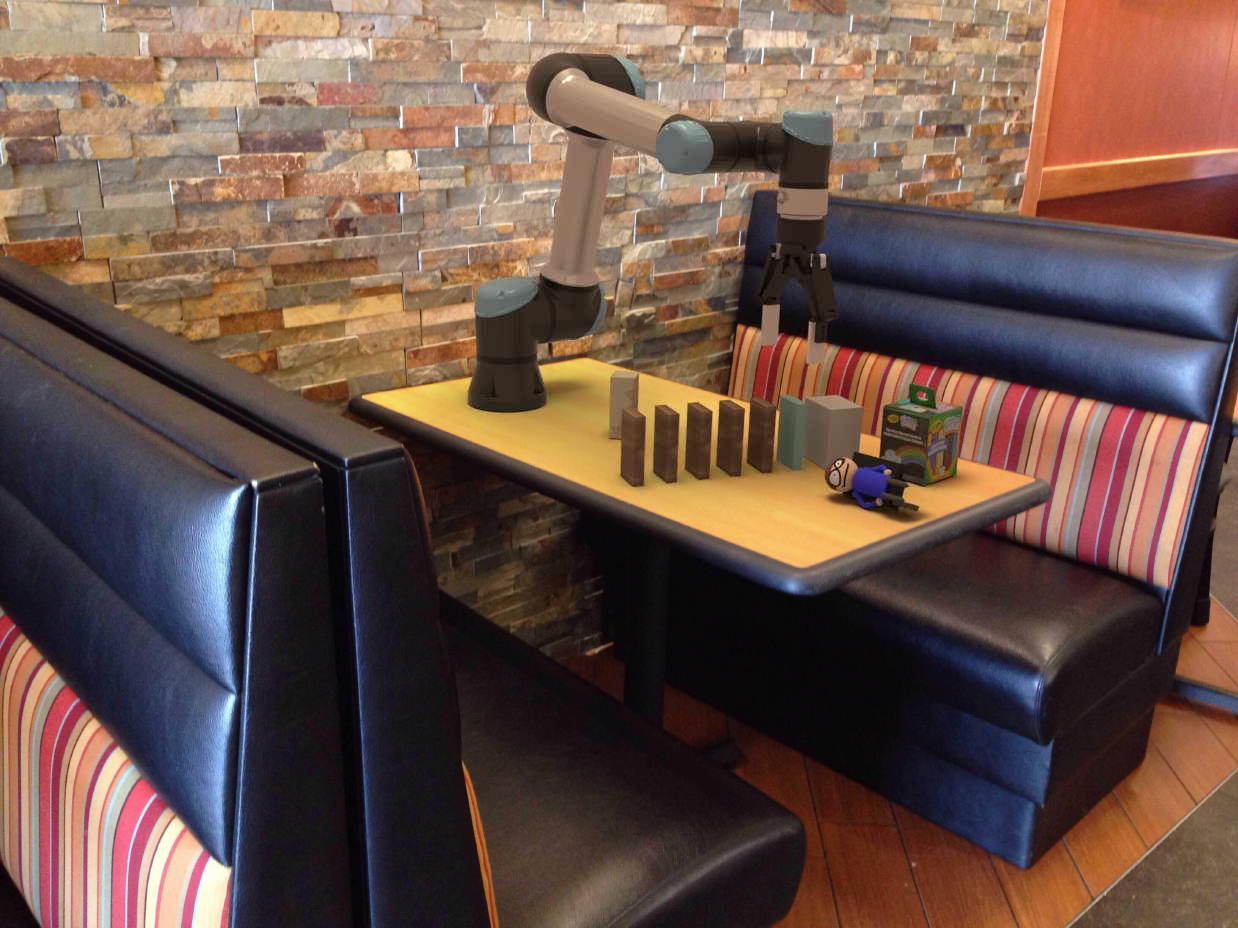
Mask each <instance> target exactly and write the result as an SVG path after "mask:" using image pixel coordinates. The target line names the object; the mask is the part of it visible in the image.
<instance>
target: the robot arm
mask: <svg viewBox="0 0 1238 928" xmlns="http://www.w3.org/2000/svg"><path fill="white" fill-rule="evenodd" d="M646 91H647V90H646V84H645V81H644V78H643V77H642V76H641V71H640V70H639V68H638V67H637V65H636V64H635V63H634V62H633V61H631V60H630V59H628V58H626V57H625V56H621V55H613V54H608V53H582V52H581V53H580V52H579V53H577V52H576V53H575V52H572V53H571V52H566V51H564V52H562V51H560V52H555V53H550V54H548V55H546V56H543V57H542V58H541V59H538V61H536V63H535V64H534V65H533V66H532V68H531V69H530V71H529V73H528V75H527V78H526V82H525V96H526V99H527V102H528V104H529V105H528V106H530V108H531V110H532V111H533V112H534V114H535V115H536V116H537V117H538V118H540V119H542V120H544V121H546V122H547V123H551V124H553V125H555V126H558V127H561V129H562V130H563V131H564V132H565V134H566V135H567V137H568V138H567V139H568V141H567V146H566V154H565V158H564V159H565V161H564V164H563V165H564V166H563V173H562V179H561V185H560V191H559V197H558V198H559V199H558V206H557V210H556V211H557V212H556V218H555V223H554V230H553V237H552V244H551V250H550V254H549V261H547V262H546V263H544V264H543V265H542V266H541V267H540V270H539V274H538V281H536V279H534V278H533V277H528V276H512V277H508V276H507V277H505V276H504V277H500V278H495V279H492V280H489V281H486V282H484V283H482V284H481V285H479V287H478V288H477V290H476V292H475V299H474V300H475V301H474V308H473V309H474V310H473V311H474V314H475V315H474V316H475V319H474V320H475V351H476V352H475V353H476V355H475V356H476V357H475V358H476V360H475V367H474V370H473V373H472V376H471V380H470V383H469V386H468V389H467V403H468V404H469V405H470V406H472V407H474V408H476V409H480V410H484V411H491V412H522V411H530V410H534V409H538V408H541V407H543V406H545V405H546V403H547V388H546V385H545V381H544V379H543V375H542V373H541V370H540V367H539V364H538V345H542V344H550V343H555V342H562V341H563V342H564V341H569V340H570V341H575V340H579V339H581V338H585V337H589V336H591V335H593V334H595V333H596V332H597V331H598V330H599V329H600V328H601V326H602V324H603V322H604V320H605V317H606V315H607V306H608V303H607V301H608V300H607V298H606V297H605V295H606V291H605V289H604V286H603V285H601V283H600V276H599V275H598V274H597V272H596V271H595V269H594V266H595V262H596V261H595V260H596V256H597V251H598V244H599V238H600V235H601V234H600V231H601V229H602V228H601V227H602V221H603V216H604V211H605V204H606V200H607V199H606V198H607V193H608V189H609V188H608V187H609V183H610V176H611V171H612V165H613V159H614V154H615V148H616V146H617V145H620V146H624V147H626V148H629V149H631V150H634V151H637V152H639V153H641V154H644V155H647V156H648V157H652V158H654V159H657V161H658V163H659V164H660V165H661V166H662V169H663V170H665V172H668V173H669V174H672V175H682V176H689V177H690V176H695V175H707V174H708V175H710V174H727V173H728V174H732V173H734V174H735V173H738V174H739V173H763V174H765V173H767V174H777V175H778V185H777V186H778V190H777V191H778V193H777V196H776V198H777V207H776V212H777V214H779V215H780V216H777V218H775V229H774V230H775V231H774V239H775V241H776V242H777V243H769V244H768V251H767V256H766V260H765V263H764V266H763V269H762V271H761V274H760V278H759V281H758V284H757V287H756V289H755V294H754V297H755V298H756V299H760V304H761V305H762V310H761V311H762V312H761V330H760V331H761V332H760V333H761V334H760V345H761V346H765V347H766V346H775V345H778V339H779V338H778V337H779V325H780V324H779V323H780V310H781V309H780V307H781V305H780V303H781V301H780V297H781V296H782V294H783V292H784V291H785V290H786V287H787V286H788V284H789V282H790V281H791V279H794V280H796V282H797V283H799V284H800V285H801V287H802V291H803V294H804V296H805V299H806V302H807V306H808V309H809V311H810V314H811V318H809V320H808V331H807V332H808V334H807V345H806V356H805V357H806V358H805V363H806V364H808V365H814V364H815V365H816V364H825V363H824V362H825V353H826V352H825V351H826V342H827V338H828V337H827V336H828V327H829V325H828V324H829V322H830V321H833V320H837V319H838V318H839V311H838V306H837V305H838V304H837V300H836V294H835V289H834V283H833V282H834V281H833V278H832V273H831V272H832V271H831V254H830V253H818V246H819V245H821V244H822V245H823V243H824V242H825V237H826V226H827V221H826V219H825V218H824V217H823V216H826V215H827V214H828V205H829V204H828V203H829V189H830V188H829V184H830V183H829V179H830V178H829V177H830V171H831V170H830V168H831V161H832V154H833V153H832V152H833V145H834V117H833V114H832V113H831V112H830V111H829V110H823V109H822V110H820V109H786V110H785V111H784V112H783V114H782V115H783V116H782V121H781V122H771V121H770V122H768V121H767V122H766V121H756V120H755V121H754V120H735V121H722V120H721V121H708V120H706V121H705V120H700V119H698V118H695V117H692V116H689V115H686V114H684V113H682V112H679V111H675V110H673V109H670V108H667V107H665V106H663V105H659V104H657V103H654V102H652V101H648V100H646V98H647V97H646Z"/></svg>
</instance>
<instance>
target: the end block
mask: <svg viewBox="0 0 1238 928" xmlns="http://www.w3.org/2000/svg"><path fill="white" fill-rule="evenodd" d="M804 402H805V403H807V413H806V426H805V439H804V452H803V458H806V459H807V460H808V461H811V462H812V463H814V464H815V465H817V466H818V467H820V468H822V469H824V470H825V469H826V467H827V465H828V464H829V463H830V462H831V461H832V460H834V459H836V458H840V457H844V458H848V459H850V460H852V458H853V454H854V451H855V452H859V453H860V446H861V436H862V435H861V434H862V426H863V425H862V424H863V415H864V414H863V413H864V406H862V405H859V404H857V403H855V402H853V401H851V400H850V399H847V398H845V397H843V396H840V395H838V394H832V395H831V394H829V395H820V396H819V395H818V396H808V397H807V396H805V401H804Z"/></svg>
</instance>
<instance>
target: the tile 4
mask: <svg viewBox="0 0 1238 928" xmlns="http://www.w3.org/2000/svg"><path fill="white" fill-rule="evenodd" d="M745 414H746V408H745V407H742V406H741V405H739V404H738V403H736V402H735V401H733V400H731V399H720V400H719V401H718V417H717V418H718V419H717V420H718V421H717V437H716V438H717V440H716V457H715V460H716V461H715V466H716V468H718V469H719V470H720V471H722V473H723V472H724V473H725V474H726V475H727V476H729V477H730V478H732V477H741V476H742V467H743V451H744V450H743V448H744V435H745V434H744V431H745V418H746V417H745V416H746V415H745Z"/></svg>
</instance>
